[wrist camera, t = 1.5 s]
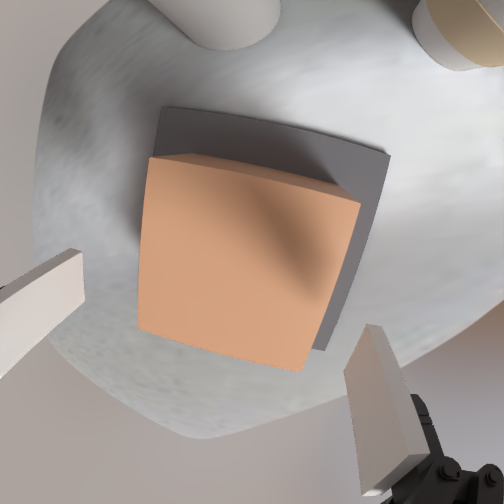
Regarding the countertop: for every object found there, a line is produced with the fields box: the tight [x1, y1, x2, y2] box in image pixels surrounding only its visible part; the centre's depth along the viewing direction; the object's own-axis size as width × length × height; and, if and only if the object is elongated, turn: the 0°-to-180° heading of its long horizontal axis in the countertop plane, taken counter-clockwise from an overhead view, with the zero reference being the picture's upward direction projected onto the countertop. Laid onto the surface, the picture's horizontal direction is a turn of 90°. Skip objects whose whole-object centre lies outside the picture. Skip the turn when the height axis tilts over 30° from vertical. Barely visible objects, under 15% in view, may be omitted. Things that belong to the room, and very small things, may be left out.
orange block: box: [138, 153, 361, 372], centre depth 19 cm, size 11×11×7 cm
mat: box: [153, 107, 391, 351], centre depth 22 cm, size 17×17×1 cm
